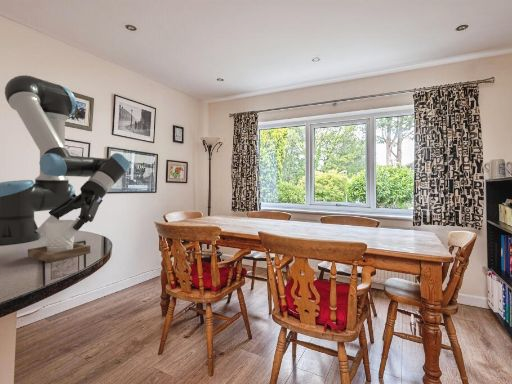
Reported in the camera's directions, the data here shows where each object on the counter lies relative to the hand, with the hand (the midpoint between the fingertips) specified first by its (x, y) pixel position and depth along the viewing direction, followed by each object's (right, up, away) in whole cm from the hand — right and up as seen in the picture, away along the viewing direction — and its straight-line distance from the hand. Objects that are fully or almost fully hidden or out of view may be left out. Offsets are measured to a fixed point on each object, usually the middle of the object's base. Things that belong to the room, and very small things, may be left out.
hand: (51, 235), depth 85 cm
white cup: (+1, -6, +3) cm, 7 cm away
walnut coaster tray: (+1, -7, +2) cm, 7 cm away
